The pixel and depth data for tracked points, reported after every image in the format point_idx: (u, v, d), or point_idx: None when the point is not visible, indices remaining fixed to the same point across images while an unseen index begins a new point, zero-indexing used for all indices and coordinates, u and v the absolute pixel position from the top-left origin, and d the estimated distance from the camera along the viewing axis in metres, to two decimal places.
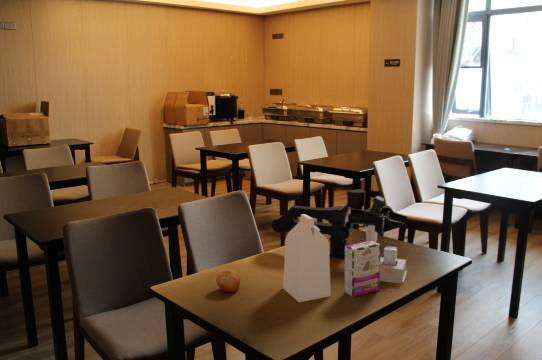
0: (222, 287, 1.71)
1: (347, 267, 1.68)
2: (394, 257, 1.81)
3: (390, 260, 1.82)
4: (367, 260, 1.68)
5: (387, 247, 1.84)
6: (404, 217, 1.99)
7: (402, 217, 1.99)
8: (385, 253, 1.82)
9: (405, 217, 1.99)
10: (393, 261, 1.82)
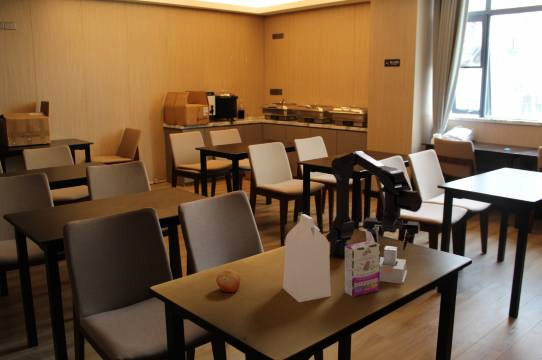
0: (222, 287, 1.71)
1: (347, 267, 1.68)
2: (394, 257, 1.81)
3: (390, 260, 1.82)
4: (367, 260, 1.68)
5: (387, 247, 1.84)
6: (403, 247, 1.81)
7: None
8: (385, 253, 1.82)
9: (403, 248, 1.81)
10: (393, 261, 1.82)
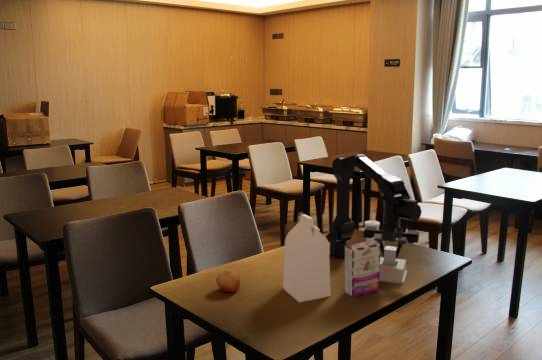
0: (222, 287, 1.71)
1: (347, 267, 1.68)
2: (394, 257, 1.81)
3: (390, 260, 1.82)
4: (367, 260, 1.68)
5: (387, 247, 1.84)
6: (396, 255, 1.83)
7: (396, 253, 1.83)
8: (385, 253, 1.82)
9: (396, 256, 1.83)
10: (393, 261, 1.82)
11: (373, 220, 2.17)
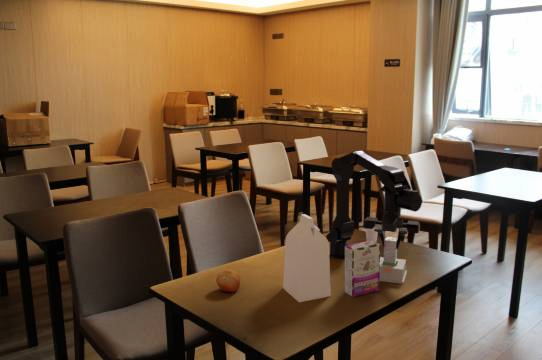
0: (222, 287, 1.71)
1: (347, 267, 1.68)
2: (394, 248, 1.81)
3: (390, 251, 1.81)
4: (367, 260, 1.68)
5: (387, 238, 1.83)
6: None
7: None
8: (385, 244, 1.81)
9: (396, 247, 1.82)
10: (393, 252, 1.81)
11: None
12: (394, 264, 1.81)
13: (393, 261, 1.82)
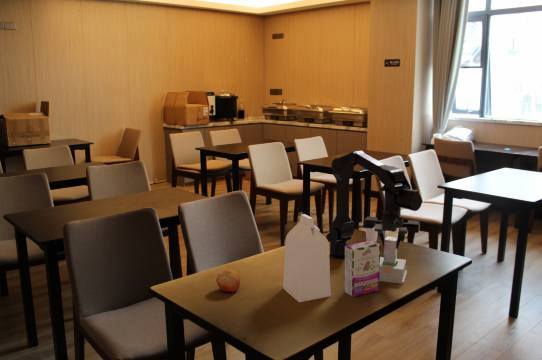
0: (222, 287, 1.71)
1: (347, 267, 1.68)
2: (394, 247, 1.80)
3: (390, 250, 1.81)
4: (367, 260, 1.68)
5: (387, 238, 1.83)
6: None
7: (396, 244, 1.82)
8: (385, 243, 1.81)
9: (396, 247, 1.82)
10: (393, 251, 1.81)
11: None
12: (394, 264, 1.81)
13: (393, 261, 1.82)
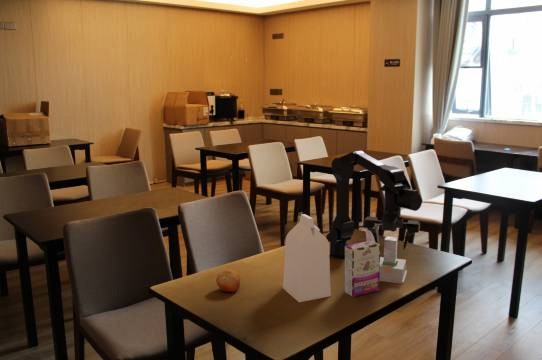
0: (222, 287, 1.71)
1: (347, 267, 1.68)
2: (394, 247, 1.80)
3: (390, 250, 1.81)
4: (367, 260, 1.68)
5: (387, 238, 1.83)
6: None
7: None
8: (385, 243, 1.81)
9: None
10: (393, 251, 1.81)
11: None
12: (394, 264, 1.81)
13: (393, 261, 1.82)
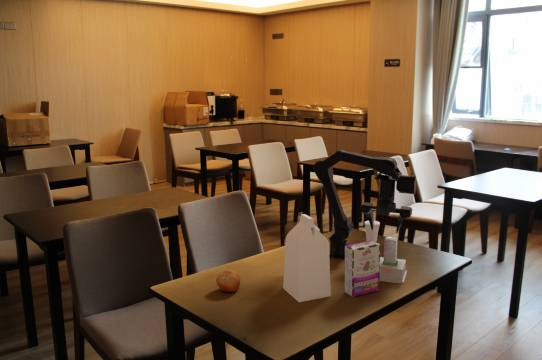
0: (222, 287, 1.71)
1: (347, 267, 1.68)
2: (394, 247, 1.80)
3: (390, 250, 1.81)
4: (367, 260, 1.68)
5: (387, 238, 1.83)
6: (396, 230, 1.96)
7: None
8: (385, 243, 1.81)
9: (396, 231, 1.96)
10: (393, 251, 1.81)
11: None
12: (394, 264, 1.81)
13: (393, 261, 1.82)
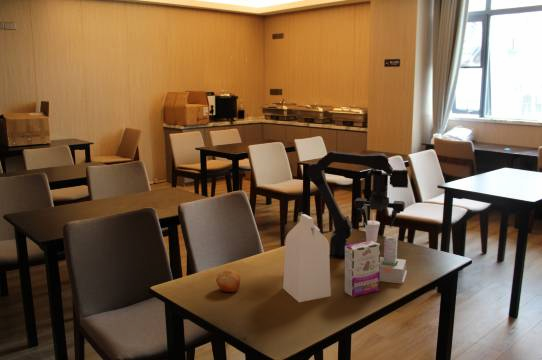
0: (222, 287, 1.71)
1: (347, 267, 1.68)
2: (394, 247, 1.80)
3: (390, 250, 1.81)
4: (367, 260, 1.68)
5: (387, 238, 1.83)
6: (390, 224, 1.99)
7: (390, 223, 1.99)
8: (385, 243, 1.81)
9: (390, 225, 1.99)
10: (393, 251, 1.81)
11: (373, 220, 2.17)
12: (394, 264, 1.81)
13: (393, 261, 1.82)
